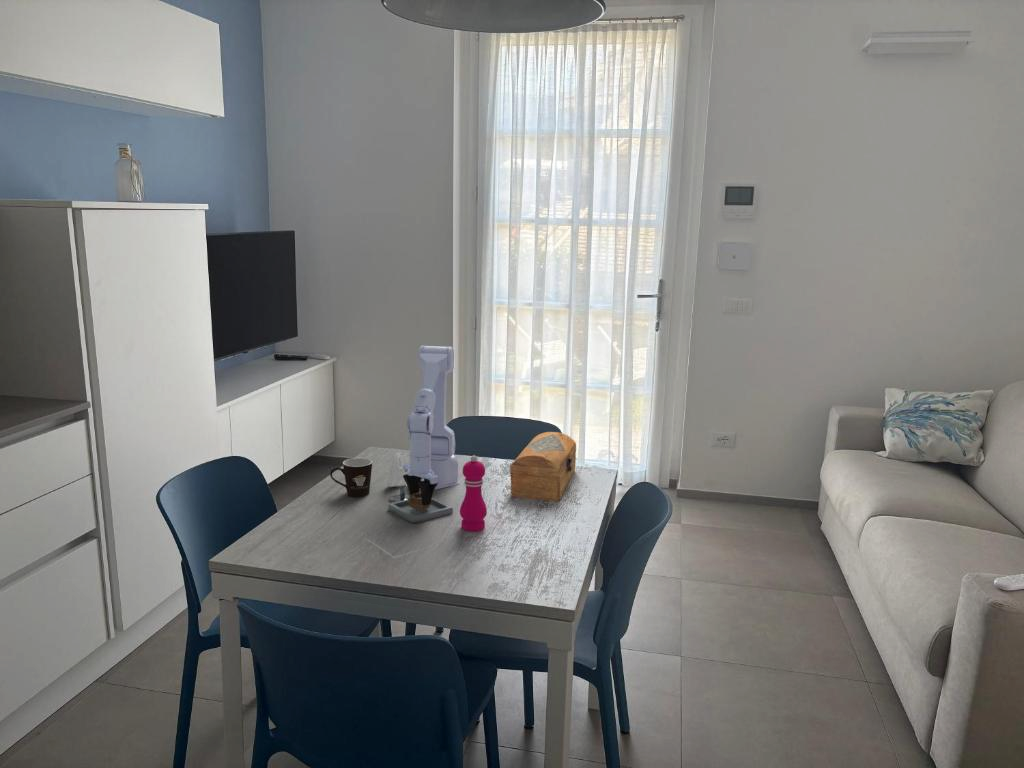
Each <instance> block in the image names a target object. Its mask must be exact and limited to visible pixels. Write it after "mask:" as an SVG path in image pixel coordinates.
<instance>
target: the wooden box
mask: <svg viewBox="0 0 1024 768" xmlns="http://www.w3.org/2000/svg"><path fill="white" fill-rule="evenodd" d="M576 458H577V443H576V441H575V440H574V439H573V438H572V437H571V436H569V435H568V434H566V433H563V432H558V431H546V432H542V433H540V434H537V435H536V436H534V437H533V438H532V439H531V441H530V442H529V443H528V445H526V447H525V448H523V450H522V451H521V453H519V455H518V456H516V458H515V459H514V461H512V462H511V463H510V470H509V473H510V494H511V495H510V497H512V498H513V497H514V498H521V499H522V498H524V499H533V500H540V499H542V500H541V501H550V500H552V502H560V501H561V499H562V497H561V496H563V495H564V493H565V490H566V488H567V486H568V484H569V482H570V481H571V479H572V477H571V476H573V475H574V473H575V471H576V460H577V459H576ZM572 474H573V475H572ZM570 478H571V479H570ZM569 480H570V481H569ZM560 498H561V499H560Z"/></svg>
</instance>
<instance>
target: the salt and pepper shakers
mask: <svg viewBox="0 0 1024 768" xmlns="http://www.w3.org/2000/svg"><path fill="white" fill-rule="evenodd" d="M389 465H390V466H389V472H388V480H387V483H386V485H387V487H389V488H397V486H398V485H402V483H403V472H404V463H403V457H402V453H401V452H398V453H395V454H394V456H393V457H392V461H391V463H390V464H389ZM421 481H424V479H423V478H422V479H421Z"/></svg>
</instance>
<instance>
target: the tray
mask: <svg viewBox="0 0 1024 768" xmlns="http://www.w3.org/2000/svg"><path fill="white" fill-rule="evenodd" d="M387 508H388V509H387V510H388V511H390V512H392V513H393V514H395V515H397V516H399V517H400V518H402V519H404V520H406V521H408V522H409V523H411V524H412V525H414V524H418V523H422V522H425V521H426V522H427V521H430V520H433V519H437V518H440V517H444V516H448V515H451V514H453V513H454V512H453V511H454V507H453V506H451V505H449V504H446V503H444V502H443V501H440V500H439V499H438V498H437V499H436V498H435V497H432V498H431V502H430V507H429V508H426V509H413V508H412V507H410V504H409V503H408V499H407V500H403V501H398V502H394V503H391V502H389V503H388V504H387Z"/></svg>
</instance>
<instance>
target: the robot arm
mask: <svg viewBox="0 0 1024 768" xmlns="http://www.w3.org/2000/svg"><path fill="white" fill-rule="evenodd" d="M417 361H418V365H419V367H420V369H421V370H422V376H421V377H422V378H421V387H420V390H417V392H416V393H415V396H414V403H413V405H412V411H411V414H410V413H409V414H408V416H407V421H406V425H407V426H406V427H407V428H406V429H407V433H408V440H409V463H405V464H404V463H403V472H406V474H402V479H403V480H404V482H405V483H406V484H405V485H406V487H407V489H408V493H409V495H410V496H411V494H413V493H417V492H421V497H422V504H423V505H424V506H425V505H429V504H430V502H431V498H433V495H434V491H436V490H440V489H444V488H447V487H452V486H457V485H460V482H459V462H458V459H457V457H456V456H455V453H456V452H455V451H456V438H455V436H456V435H455V434H456V433H455V431H454V430H453V429H452V428H450V427H449V426H448V425H447V384H448V383H447V382H448V381H447V379H448V375H449V374H450V373H452V372H454V367H455V351H454V348H453V347H452V346H439V345H438V346H434V345H421V346H420V347H419V349H418V354H417ZM422 478H423V480H422V481H421V479H422Z"/></svg>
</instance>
